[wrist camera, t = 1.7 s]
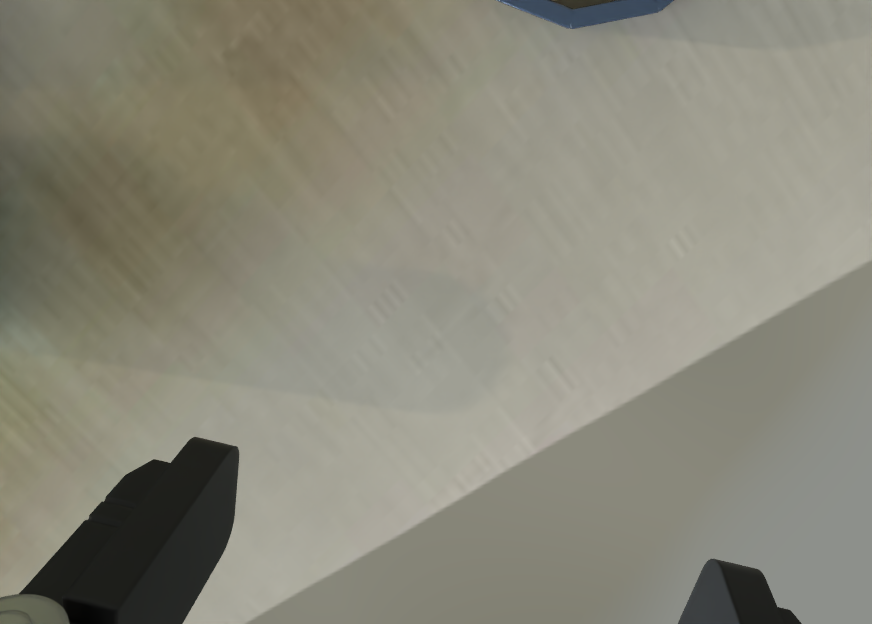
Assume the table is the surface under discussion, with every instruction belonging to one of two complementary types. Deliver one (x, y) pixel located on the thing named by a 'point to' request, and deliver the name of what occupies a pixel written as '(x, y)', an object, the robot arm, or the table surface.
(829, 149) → the table surface
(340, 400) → the table surface
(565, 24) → the ring
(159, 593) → the robot arm
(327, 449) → the table surface
